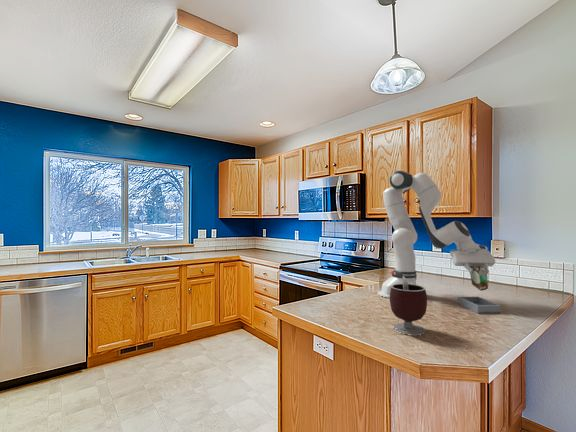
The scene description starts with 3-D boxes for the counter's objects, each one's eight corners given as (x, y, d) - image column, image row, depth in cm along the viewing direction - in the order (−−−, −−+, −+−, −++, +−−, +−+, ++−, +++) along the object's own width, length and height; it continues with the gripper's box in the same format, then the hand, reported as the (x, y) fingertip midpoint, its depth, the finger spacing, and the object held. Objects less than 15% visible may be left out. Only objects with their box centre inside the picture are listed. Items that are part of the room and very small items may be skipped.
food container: (496, 290, 146) (493, 269, 146) (482, 291, 147) (479, 271, 147) (483, 282, 159) (481, 263, 158) (470, 283, 160) (468, 264, 159)
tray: (477, 313, 143) (477, 305, 144) (458, 303, 160) (458, 296, 160) (500, 313, 143) (500, 305, 144) (478, 303, 160) (478, 296, 160)
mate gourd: (432, 337, 115) (431, 284, 115) (393, 335, 117) (392, 283, 117) (421, 323, 130) (420, 276, 130) (387, 322, 133) (386, 275, 133)
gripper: (450, 246, 161) (461, 268, 151) (489, 246, 161) (502, 268, 151) (446, 253, 165) (456, 275, 156) (484, 254, 166) (496, 276, 156)
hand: (479, 272), depth 154 cm, fingers closed on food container, 6 cm apart
